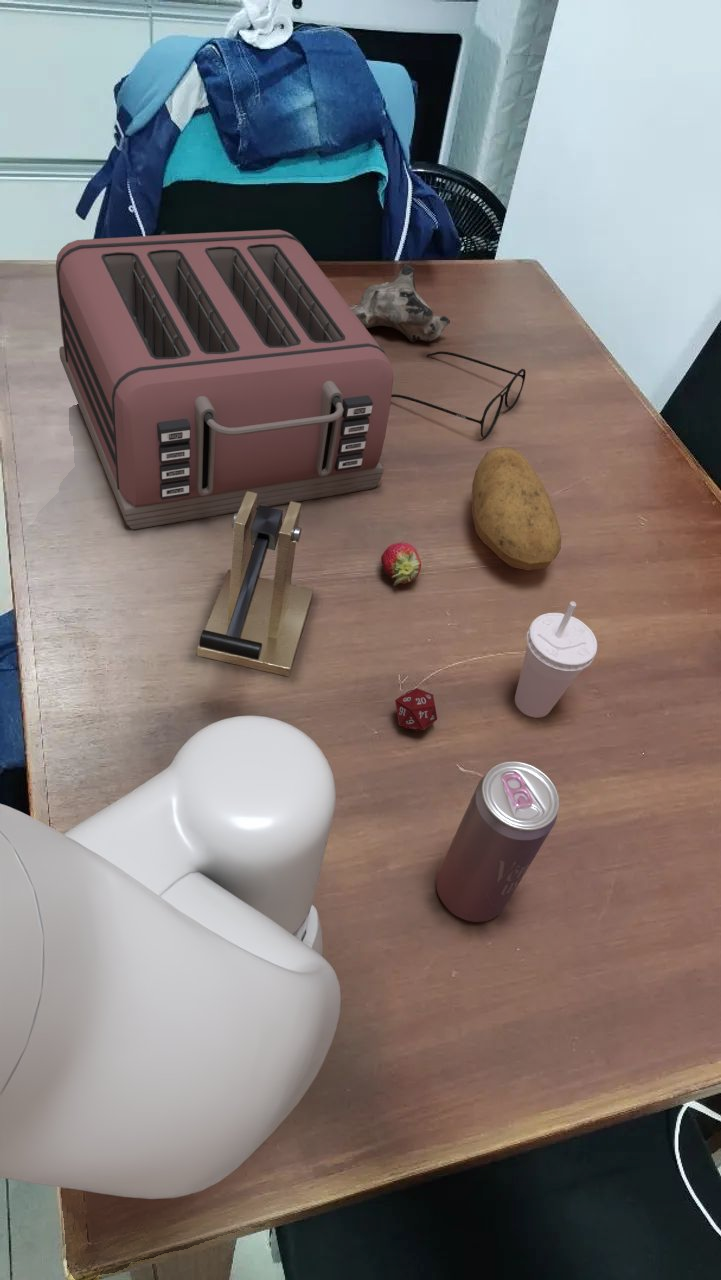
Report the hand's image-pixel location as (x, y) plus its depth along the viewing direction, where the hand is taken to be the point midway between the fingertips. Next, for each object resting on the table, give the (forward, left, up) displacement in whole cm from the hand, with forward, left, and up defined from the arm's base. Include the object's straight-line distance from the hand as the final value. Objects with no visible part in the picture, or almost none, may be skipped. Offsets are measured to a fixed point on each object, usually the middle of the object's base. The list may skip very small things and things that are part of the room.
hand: (226, 1019), depth 61 cm
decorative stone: (+98, +23, -4) cm, 101 cm away
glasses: (+87, +10, -4) cm, 87 cm away
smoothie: (+41, -13, -4) cm, 43 cm away
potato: (+62, -4, -4) cm, 62 cm away
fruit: (+51, +5, -4) cm, 51 cm away
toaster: (+62, +32, -4) cm, 70 cm away
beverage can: (+19, -13, -4) cm, 23 cm away
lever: (+32, +14, +6) cm, 35 cm away
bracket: (+37, +15, -4) cm, 40 cm away
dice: (+33, -3, -4) cm, 33 cm away
